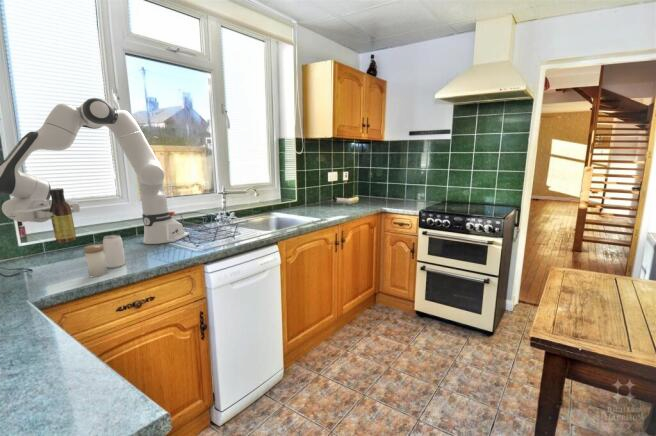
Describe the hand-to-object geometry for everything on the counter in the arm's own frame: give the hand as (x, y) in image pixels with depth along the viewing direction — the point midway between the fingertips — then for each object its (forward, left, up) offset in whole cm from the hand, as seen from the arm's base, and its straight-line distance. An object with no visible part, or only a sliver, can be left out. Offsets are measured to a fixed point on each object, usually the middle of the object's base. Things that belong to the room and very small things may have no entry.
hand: (62, 212), depth 125 cm
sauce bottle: (0, -1, -11) cm, 11 cm away
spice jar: (-1, +12, -23) cm, 26 cm away
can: (-10, +10, -23) cm, 27 cm away
